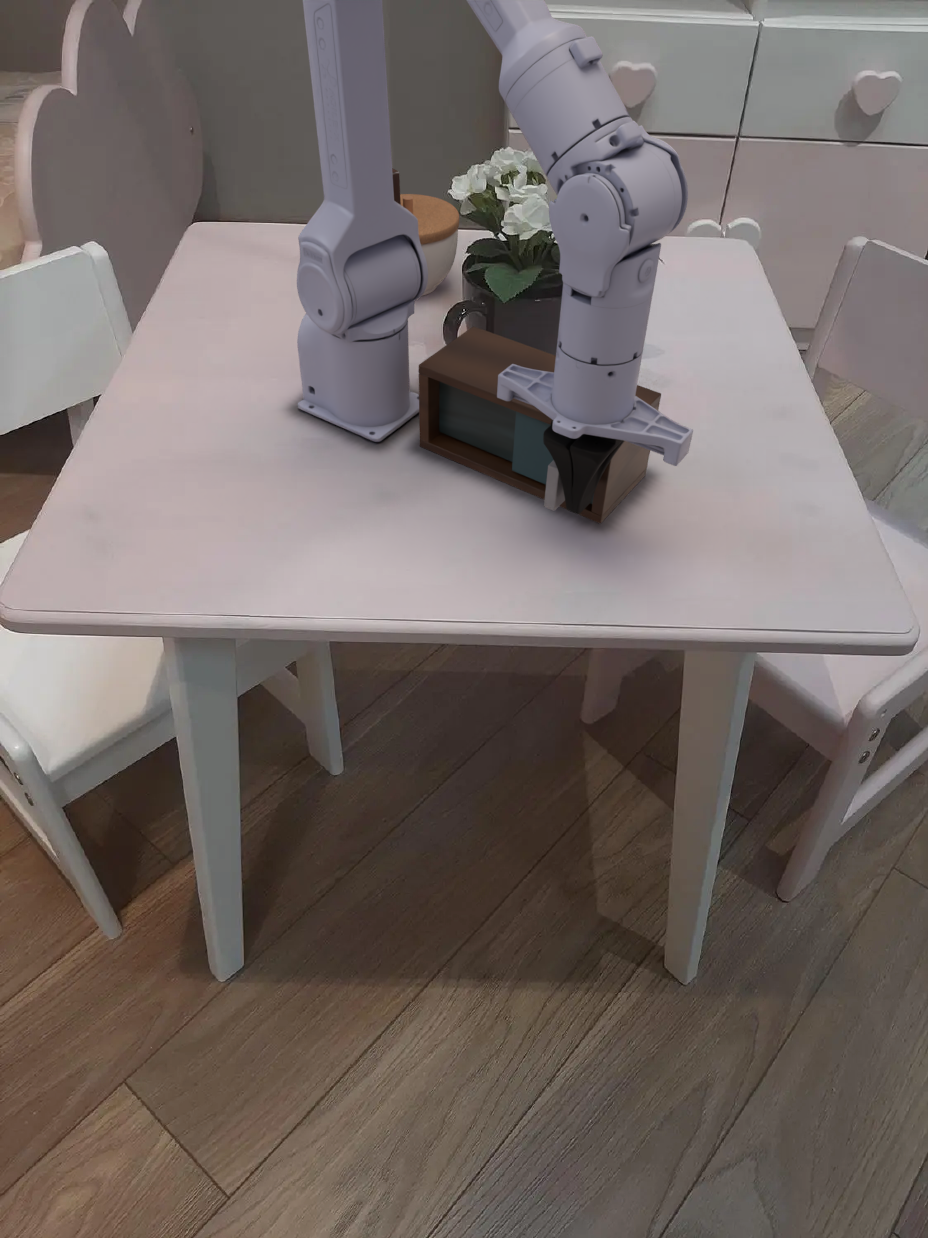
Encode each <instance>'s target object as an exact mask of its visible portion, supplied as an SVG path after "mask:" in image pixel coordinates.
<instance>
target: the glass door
mask: <svg viewBox="0 0 928 1238" xmlns="http://www.w3.org/2000/svg"><path fill="white" fill-rule="evenodd" d="M549 426H550V424H547V423H545V422H542V421H540V420H537V419H534V418H532V417H529V416H527V415H524V414H522V413H519V412H517V411H516V421H515V435H514V449H513V463H512V471H515V472H517V473H519V474H522V475H524V476H527V477H529V478H531V479H534V480H536V481H538V482H541V483H543V484H546V491H545V500H544V503H543V507H544V508H546V509H549V510H551V511H553V512H555V511H556V510H557V509H558V508H559V507H560V505H561V504H562V503H563V502H564V501H565V497H564V491H563V487H562V482H561V479H560V475H559V472H558V469H557V466H556V464H555V462H554V460H553V458H552V456H551V454H550V452H549V451H548V449H547V448H546V446H545V445H544V443H543V434H544V431H545V430H546V429H547V428H548V427H549ZM593 497H594V494H593ZM593 497H592V500H591V504H592V503H593Z"/></svg>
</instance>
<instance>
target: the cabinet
mask: <svg viewBox="0 0 928 1238" xmlns="http://www.w3.org/2000/svg"><path fill="white" fill-rule="evenodd" d="M555 359H556V354H552V353H549V352H547V351H545V350H544V351H543V350H541V349H538V348H535V347H533V346H529V345H527V344H524V343H521V342H518V341H516V340H512V339H510V338H507V337H504V336H502V335H499V334H496V333H493V332H490V331H488V330H484V329H482V328H479V327H477V326H472V327H470V328H469V329H467V330H466V331H464V332H463V333H462V334H460V335H459V336H457V337H456V338H454V339H453V340H452V341H450V342H449V343H447V344H446V345H445V346H444V347H442V348H440V349H439V350H438V351H436V352H435V353H433V354H432V355H430V356H429V357H428V358H426V359H425V360H423V361H422V362H420V363H419V364H418V394H419V413H418V419H419V420H418V421H419V422H418V423H419V430H418V431H419V447H420V448H423V449H425V450H427V451H429V452H431V453H434V454H436V455H439V456H441V457H443V458H446V459H448V460H451V461H453V462H455V463H458V464H460V465H462V466H465V467H467V468H468V469H469V468H470V469H471V470H473V471H475V472H478V473H480V474H483V475H486V476H488V477H490V478H493V479H495V480H497V481H499V482H502V483H504V484H507V485H509V486H511V487H514V488H516V489H518V490H520V491H522V492H526V493H527V494H530V495H532V496H534V497H537V498H539V499H541V500H544V501H545V491H546V484H543V483H541V482H538V481H536V480H534V479H531V478H529V477H527V476H524V475H522V474H519V473H517V472H515V471H512V463H513V449H514V435H515V421H516V411H517V412H519V413H522V414H524V415H527V416H529V417H532V418H534V419H537V420H540V421H542V422H545V423H547V424H550V425H551V421H553V420H552V419H551V418H550V417H548V416H547V415H545V414H544V413H543V412H541V411H540V410H539V409H537V408H536V407H535V406H533V405H530V404H527V403H525V402H522V401H520V400H517V399H514V398H513V399H512V400H511V401H505V400H502V399H500V398H497V387H498V375H499V374H500V373H501V372H503V371H504V370H505V369H506V368H508V367H509V366H510V365H512V364H515V365H518V366H521V367H525V368H529V369H534V370H540V371H547V372H554V369H555ZM635 396H637V397H638V398H640V399H641V400H643V401H644V402H646V403H647V404H649V405H650V406H652V407H653V408H655V409H656V410H658V411H659V408H660V405H661V404H660V403H661V398H662V393H661V392H659V391H655V390H653V389H650V388H648V387H644V386H641V385H640V384H637V388H636V394H635ZM650 453H651V450H648V449H645V448H643V447H640V446H637V445H635V444H632V443H630V442H627V441H624V443H623V444H622V445H621V447H620V448H619V449H618V451H617V452H616V453H615V455H614V456H613V458H612V459H611V461H610V462H609V464H608V465H607V467H606V469H605V471H604V472H603V474H602V476H601V478H600V480H599V482H598V484H597V487H596V489H595V492H594V497H593V503H592V504H591V503H590V504H589V505H588V506H587V507H586V508H585V509H584V510H583V511H582V512H581V513H580V514H578V515H579V516H581V517H583V518H586V519H588V520H591V521H592V522H595V523H598V524H600V525H601V524H602V523H603V522H604V521H605V520H606V519H607V518H608V516H609V515H610V514H612V512H613V511H614V510H615V509H616V508H617V507H618V506H619V505H620V503H621V502H622V501H623V500H625V498H626V497H627V496H628V495H629V493H631V491H633V490H634V488H635V487H636V486H637V485H638V484H639V483H640V482H641V481H642V479H644V478H645V477H646V475H647V471H648V470H647V468H648V466H649V465H648V464H649V459H650V456H651V455H650ZM559 507H560V508H563V509H565V510H567V509H566V503H565V501H564V502H563V503H562V504H561V505H560V506H559Z"/></svg>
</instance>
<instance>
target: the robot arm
mask: <svg viewBox="0 0 928 1238" xmlns="http://www.w3.org/2000/svg"><path fill="white" fill-rule="evenodd" d="M465 1H466V3H467V4H468V5H469V7H470V8H471V11H472V12H473V13H474V14H475V16H476V18H477V20H478V21H479V23H480V25H482V27H483V28H484V30H485V32H486V33H487V34H488V36H489V38H490V39H491V41H492V42H493V44H494V46H495V47H496V48H497V50H498V52H499V53H500V55H501V57H502V58H501V59H502V60H501V66H500V72H499V78H498V92H499V95H500V97H501V98H502V100H503V102H504V103H505V105H506V107H507V109H508V111H509V112H510V114H511V116H512V118H513V120H514V121H515V123H516V125H517V127H518V128H519V130H520V132H521V133H522V135H523V137H524V139H525V141H526V143H527V144H528V146H529V149H530V150H531V152H532V153H533V155H534V157H535V159H536V161H537V162H538V164H539V166H540V167H541V169H542V171H543V173H544V175H545V176H546V178H547V180H548V182H549V184H550V185H551V187H552V190H553V191H554V193H555V195H556V198H554V200H550V201H549V202H548V218H549V224H550V227H551V231H552V235H553V237H554V239H555V241H556V243H557V246H558V249H559V267H558V268H559V270H558V273H559V274H561V275H562V276H561V281H562V291H561V300H560V301H561V302H560V303H561V304H560V309H559V310H560V312H559V321H558V331H557V340H556V350H555V356H556V359H555V369H554V372H547V371H540V370H534V369H529V368H525V367H521V366H518V365H515V364H512V365H510V366H509V367H508V368H506V369H505V370H504V371H503V372H501V373H500V374H499V375H498V387H497V398H500V399H502V400H505V401H511V400H512V399H513V398H514V399H517V400H520V401H522V402H525V403H527V404H530V405H533V406H535V407H536V408H537V409H539V410H540V411H541V412H543V413H544V414H545V415H547V416H548V417H550V418H551V419H552V420H553V421H551V425H550V426H549V427H548V428H547V429H546V430H545V431H544V434H543V443H544V445H545V446H546V448H547V449H548V451H549V452H550V454H551V456H552V458H553V460H554V462H555V464H556V466H557V469H558V472H559V475H560V479H561V482H562V487H563V491H564V497H565V503H566V509H565V510H567V511H569V512H571V513H574V514H576V515H579V514H580V513H581V512H582V511H583V510H584V509H585V508H586V507H587V506H588V505H589V504H590V503H591V500H592V497H593V494H594V492H595V489H596V487H597V484H598V482H599V480H600V478H601V476H602V474H603V472H604V471H605V469H606V467H607V465H608V464H609V462H610V461H611V459H612V458H613V456H614V455H615V453H616V452H617V451H618V449H619V448H620V447H621V445H622V444H623V443H624V441H627V442H630V443H632V444H635V445H637V446H640V447H643V448H645V449H648V450H650V452H654V453H656V454H659V455H662V456H663V457H662V460H663V462H664V463H666V464H669V465H671V466H674V467H678V465H679V464H680V463H681V462H682V461H683V460H684V459H685V457H686V456H687V455H688V454H689V451H690V447H691V444H692V443H691V442H692V438H693V434H694V429H693V428H690V427H688V426H685V425H683V424H681V423H679V422H676V421H675V420H673V419H672V418H670V417H668V416H667V415H666V414H664V413H662V412H661V411H659V409H658V410H656V409H655V408H653V407H652V406H650V405H649V404H647V403H646V402H644V401H643V400H641V399H640V398H638V397H637V396H635V394H636V388H637V385H638V381H639V375H640V369H641V365H642V358H643V353H644V348H645V341H646V335H647V330H648V323H649V318H650V312H651V308H652V307H651V305H652V300H653V294H654V289H655V283H656V278H657V271H658V266H659V260H660V254H661V248H662V243H661V242H658V241H660V240H662V239H664V238H665V237H666V236H668V235H669V234H670V233H672V232H673V231H674V230H675V229H676V228H677V227H678V226H679V225H680V223H681V222H682V220H683V218H684V216H685V213H686V210H687V206H688V202H689V201H688V200H689V187H688V180H687V176H686V172H685V170H684V167H683V166H682V163H681V158H680V155H679V153H678V152H677V151H676V150H675V149H674V147H672V146H671V145H670V144H669V143H667V141H665V140H663V139H661V138H658V137H654V136H651V135H650V134H649V133H647V131H646V129H645V128H644V126H643V125H642V124H641V125H639V124H638V123H637V122H636V121H635V120H633V119H632V117H631V115H630V112H629V111H628V109H627V108H626V105H625V103H624V102H623V100H622V98H621V96H620V95H619V92H618V90H617V89H616V87H615V85H614V84H613V82H612V80H611V78H610V77H609V74H608V72H607V71H606V69H605V67H604V65H603V63H602V61H601V60H602V58H603V56H604V54H603V51H602V49H601V48H600V46H599V44H598V42H597V40H596V38H595V36H593V35H592V36H591V35H590V36H587V33H586V32H585V30H584V28H583V27H582V26H580V25H579V24H577V23H576V24H575V23H571V22H566V21H563V20H559V19H557V18H554V17H553V15H552V14H551V11H550V9H549V7H548V4H547V3H546V1H545V0H465ZM383 7H384V6H383V0H302V8H303V16H304V27H305V35H306V42H307V43H306V44H307V53H308V62H309V70H310V71H309V72H310V82H311V90H312V91H311V92H312V100H313V109H314V118H315V126H316V128H315V129H316V135H317V144H318V155H319V162H320V163H319V164H320V172H321V182H322V190H323V201H322V203H321V204H320V206H319V207H318V209H316V211H315V213H314V214H313V215H312V217H311V218H310V219H309V220H308V222H307V223H306V224H305V226H304V227H303V229H302V230H301V231H300V233H299V235H298V244H299V263H298V267H297V273H296V289H297V294H298V298H299V301H300V304H301V306H302V308H303V310H304V312H305V314H304V316H303V318H302V319H301V322H300V324H299V328H298V332H297V338H296V339H297V340H296V343H297V354H298V363H299V371H300V380H301V381H300V382H301V389H302V398H303V399H301V400H300V401H298V402H297V408H298V409H299V410H301V411H303V412H305V413H307V414H310V415H313V416H315V417H317V418H319V419H322V420H324V421H326V422H329V423H331V424H333V425H336V426H337V427H340V428H342V429H345V430H347V431H349V432H351V433H353V434H356V435H358V436H360V437H363V438H365V439H367V440H370V441H372V442H375V443H380V442H382V441H384V439H386V438H387V437H388V436H389V435H391V434H392V433H393V432H395V431H396V430H397V429H399V428H400V427H401V426H403V425H404V424H405V423H407V422H408V421H410V420H411V419H412V418H413V417H414V416H416V415H418V414H419V393H416V392H414V391H412V390H410V352H409V349H410V348H409V345H410V344H409V318H410V317H411V316H412V315H414V314H415V301H416V300H419V299H420V298H421V297H423V296H422V295H423V293H424V292H425V290H426V287H427V283H428V268H427V262H426V258H425V255H424V252H423V250H422V247H421V244H420V239H419V232H418V219H417V218H416V217H415V216H414V215H413V214H412V213H411V212H410V211H409V210H407V209H406V208H404V207H403V206H401V205H400V204H398V203H397V202H395V201H394V191H393V174H392V168H393V160H392V159H393V158H392V157H393V156H392V141H391V127H390V126H391V125H390V111H389V93H388V92H389V91H388V76H387V74H388V73H387V59H386V57H387V56H386V43H385V41H386V39H385V27H384V26H385V25H384V23H385V22H384V10H383ZM656 242H658V243H656Z"/></svg>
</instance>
